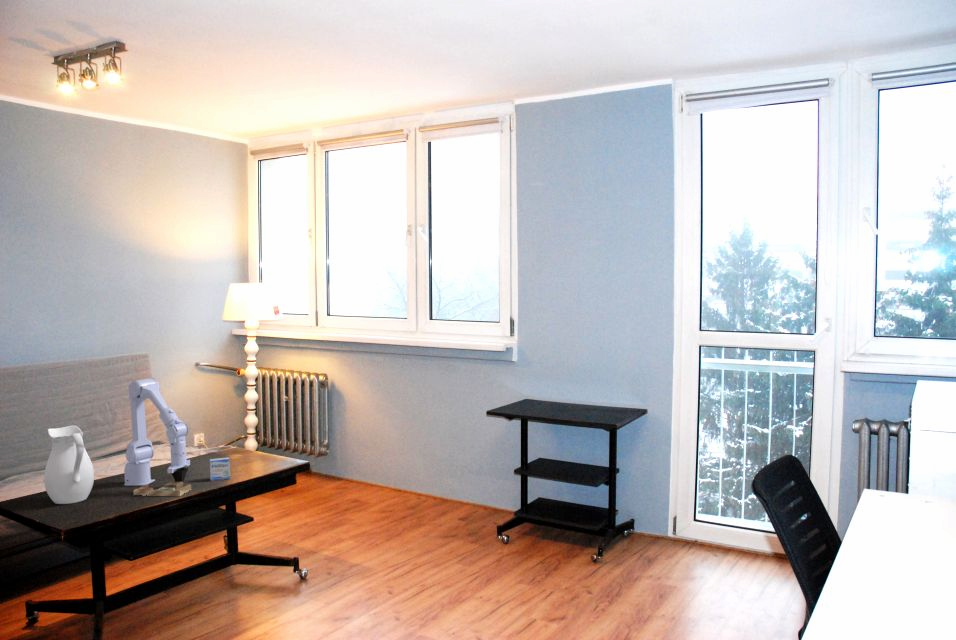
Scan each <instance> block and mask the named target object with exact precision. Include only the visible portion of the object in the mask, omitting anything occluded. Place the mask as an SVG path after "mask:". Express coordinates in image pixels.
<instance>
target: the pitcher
mask: <svg viewBox="0 0 956 640" xmlns="http://www.w3.org/2000/svg"><path fill="white" fill-rule="evenodd" d="M47 434H48V437H49V438H50V441H51V450H50V454H49V456H48V459H47V462H46V466H45V469H44V477H43V478H44V479H43V482H44V488H45V491H46V493H47V496H49V498H50V500H51V501H52V502H53V503H54V504H57V505H69V504H75V503H79V502H82V501H85V500H87V498H88V497H89V496H90V493H91V492H92V489H93V486H94V482H95V481H94V480H95V472H94V471H95V470H94V469H95V468H94V465H93V463H92V461H91V457H90V456H89V454H88V452H87V449H86V447H85V444H84V440H83V435H84V432H83V431H82V430H81V428H80V427H79V426H78V425H74V424H73V425H72V424H71V425H67V426H63V427H56V428H48V429H47Z"/></svg>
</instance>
